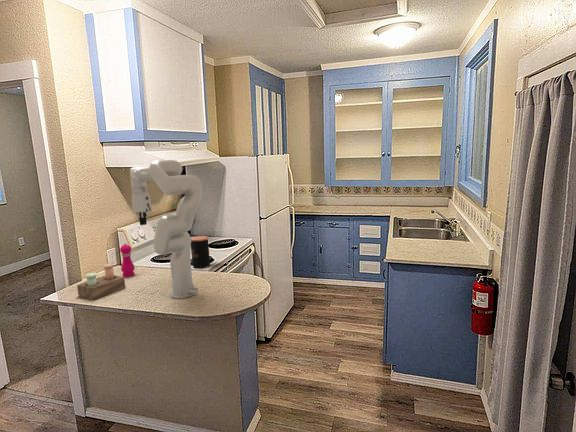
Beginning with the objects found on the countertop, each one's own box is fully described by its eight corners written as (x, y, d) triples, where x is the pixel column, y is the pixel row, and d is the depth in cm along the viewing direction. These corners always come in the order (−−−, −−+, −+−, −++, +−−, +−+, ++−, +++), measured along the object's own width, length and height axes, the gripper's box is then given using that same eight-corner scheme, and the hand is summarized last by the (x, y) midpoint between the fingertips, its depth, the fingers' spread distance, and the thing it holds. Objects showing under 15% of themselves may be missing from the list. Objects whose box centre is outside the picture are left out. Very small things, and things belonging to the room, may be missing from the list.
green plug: (100, 293, 186) (98, 273, 184) (92, 296, 181) (89, 276, 180) (94, 292, 188) (92, 272, 186) (86, 295, 184) (83, 275, 182)
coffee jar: (191, 265, 230) (188, 237, 227) (208, 262, 235) (205, 235, 232) (194, 269, 221) (191, 240, 218) (211, 267, 225) (209, 238, 222)
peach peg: (117, 283, 194) (115, 263, 192) (109, 286, 190) (107, 266, 188) (111, 282, 196) (109, 263, 194) (103, 284, 192) (101, 265, 190)
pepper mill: (119, 276, 213) (115, 243, 210) (129, 273, 219) (125, 240, 216) (127, 278, 210) (123, 244, 207) (138, 274, 216) (134, 241, 213)
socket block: (125, 287, 194) (124, 276, 193) (93, 300, 178) (92, 288, 177) (110, 284, 200) (109, 274, 199) (78, 296, 184) (77, 285, 183)
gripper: (155, 190, 195) (158, 224, 198) (135, 190, 202) (139, 222, 205) (144, 191, 188) (147, 226, 191) (124, 191, 195) (127, 225, 198)
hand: (143, 224), depth 198 cm, fingers closed
